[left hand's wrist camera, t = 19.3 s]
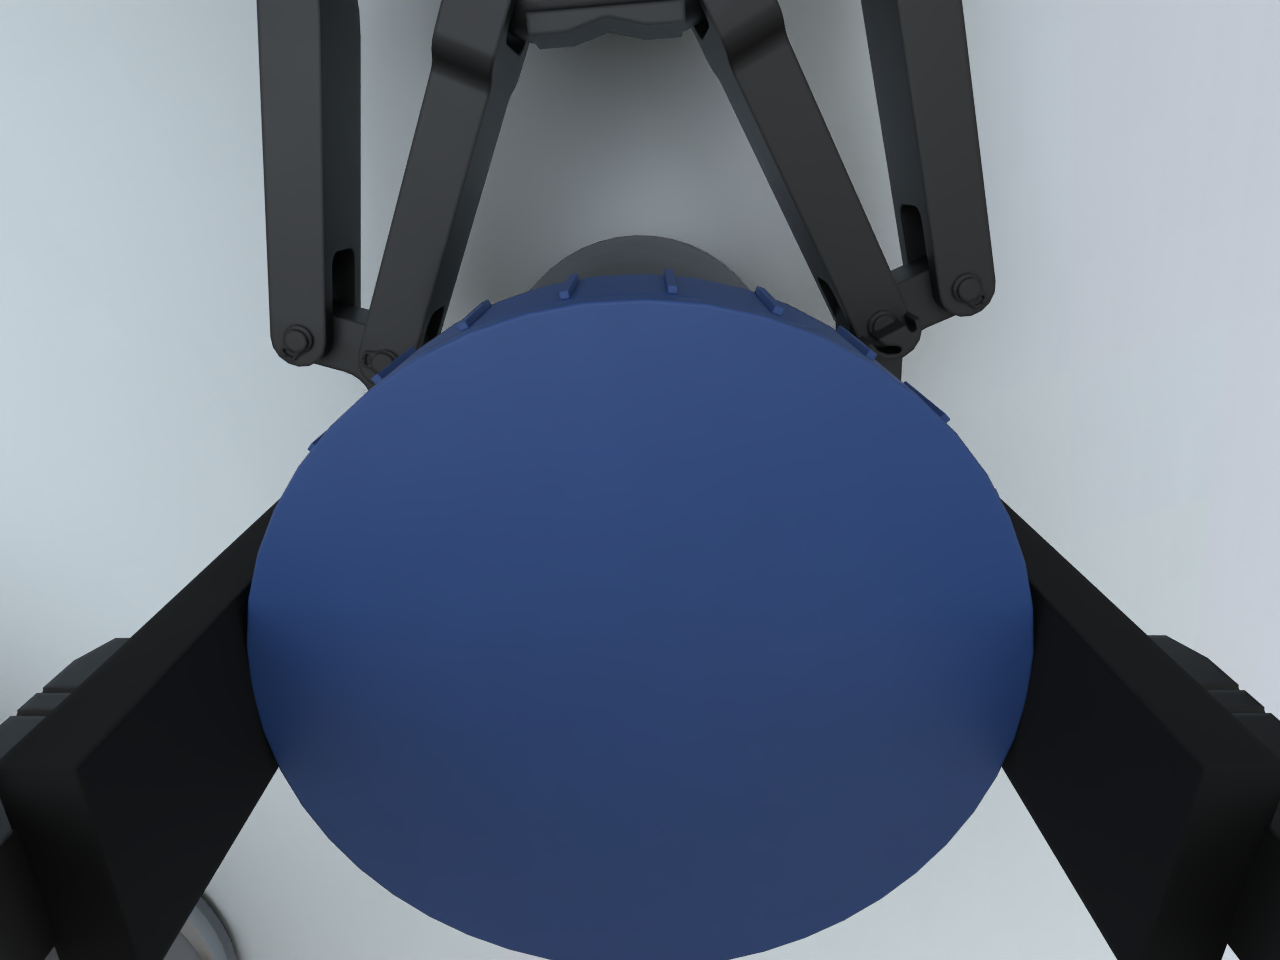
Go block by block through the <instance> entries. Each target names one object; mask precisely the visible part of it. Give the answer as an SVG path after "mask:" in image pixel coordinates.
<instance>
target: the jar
mask: <svg viewBox="0 0 1280 960" xmlns="http://www.w3.org/2000/svg"><path fill="white" fill-rule="evenodd" d="M664 269H672V270H673V272H674V276H680V277H692V278H698V279H703V280H708V281H712V282H717V283H721V284H726V285H731V286H735V287H740V288H744V289H747V290H749V289H748V288H747V287H746V286H745V285H744V283H743V282H742V281H741V280H740V279H739V278H738V277H737V275H736V274H735V273H733V272H732V271H731V270H730V269H729V268H728V267H726V266H725V265H724V264H723V263H722V262H720V261H719V260H717V259H716V258H714V257H713V256H711V255H709V254H708V253H706V252H704V251H702V250H700V249H698V248H696V247H694V246H691V245H689V244H686V243H683V242H679V241H676V240H673V239H668V238H662V237H656V236H626V237H617V238H612V239H608V240H604V241H600V242H597V243H595V244H592V245H589V246H587V247H584V248H582V249H580V250H578V251H576V252H575V253H573V254H571V255H569V256H568V257H566V258H564V259H563V260H562V261H560V262H559V263H558V264H556V265H555V266H554V267H553V268H551V269H550V270H549V271H548V272H547V273H546V274H545V275H544V276H543V277H542V278H541V279H540V280H539V281H538V282H537V283H536V284H535V286H534V287H533V288H532V289H531V290H530V291H532V290H535V289H538V288H541V287H544V286H548V285H553V284H558V283H563V282H566V280H567V279H568V277H569V275H570V274H576V273H578V275H579V279H584V278H589V277H595V276H613V275H631V274H654V275H664Z"/></svg>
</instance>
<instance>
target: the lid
mask: <svg viewBox="0 0 1280 960" xmlns="http://www.w3.org/2000/svg"><path fill="white" fill-rule="evenodd" d="M876 356H877V354H876V353H875V352H874V351H872V350H871V349H870V348H869V347H867V346H866V345H865V344H864V343H862V342H861V341H860V340H859V339H857V338H856V337H855V336H854V335H852V334H851V333H850V332H849V331H847V330H846V329H845V328H843V327H842V326H839V327H838V328H837V329H836V330H835V329H833V328H832V327H830V326H828V325H826V324H824V323H822V322H820V321H819V320H817V319H815V318H813V317H811V316H809V315H807V314H805V313H804V312H802V311H800V310H798V309H796V308H794V307H792V306H790V305H788V304H785V303H782V302H780V301H777V300H775V299H774V298H773V297H772V296H771V295H770V294H769V293H768V292H767V291H766V290H765V289H764V288H761V287H757V288H756V290H755V292H752V291H750V290H747V289H744V288H740V287H735V286H731V285H726V284H721V283H717V282H712V281H708V280H703V279H698V278H692V277H680V276H674V272H673V270H672V269H664V275H654V274H631V275H613V276H595V277H589V278H584V279H579V275H578V273H576V274H570V275H569V277H568V279H567V280H566V282H563V283H558V284H553V285H548V286H544V287H541V288H538V289H535V290H532V291H529V292H526V293H523V294H520V295H517V296H514V297H511V298H508V299H505V300H502V301H499V302H497V303H495V304H493V305H491V304H490V302H489V300H486V301H484V302H482V303H481V304H480V305H479V306H477V307H476V308H475V309H474V310H473V311H472V312H471V313H469V314H468V315H467V316H466V317H465V318H464V319H463V320H461V321H459V322H457V323H455V324H454V325H453V326H451V327H450V328H448V329H447V330H445V331H444V332H442V333H441V334H440V335H438V336H437V337H435V338H434V339H432V340H431V341H429V342H428V343H426V344H425V345H424V346H422V347H421V348H419V349H418V350H417V351H416V350H415V349H414V348H413V347H412V346H411V347H410V348H409V349H408V350H406V351H405V352H404V353H403V354H401V355H400V356H399V357H398V358H396V359H395V360H394V361H393V362H391V363H390V364H389V365H388V366H386V367H385V368H384V369H383V370H381V371H380V372H379V373H378V374H376V375H375V376H374V377H373V378H372V379H371V380H372V381H373V382H374V383H375V384H376V385H375V386H373V387H372V388H371V389H370V390H369V391H368V392H367V393H366V394H364V395H363V396H362V397H361V398H360V399H359V400H358V401H357V402H356V403H355V404H354V405H353V406H352V407H350V408H349V409H348V410H347V411H346V412H345V413H344V414H343V415H342V416H341V417H340V418H339V419H338V420H337V421H335V422H334V423H333V424H332V425H331V426H330V427H329V429H328V430H327V431H325V432H324V433H323V434H322V435H321V436H320V437H318V438H317V439H316V440H315V441H314V442H313V443H311V445H310V446H309V448H308V450H309V451H310V453H309V454H308V455H307V456H306V458H305V459H304V460H303V461H302V463H301V464H300V465H299V467H298V468H297V470H296V472H295V474H294V475H293V477H292V479H291V481H290V482H289V484H288V486H287V488H286V489H285V491H284V493H283V495H282V496H281V498H280V500H279V502H278V504H277V505H276V507H275V509H274V511H273V514H272V517H271V519H270V522H269V525H268V527H267V530H266V533H265V535H264V538H263V541H262V543H261V546H260V549H259V551H258V554H257V559H256V564H255V569H254V574H253V579H252V584H251V589H250V594H249V599H248V623H247V653H248V661H249V670H250V677H251V682H252V688H253V692H254V697H255V701H256V706H257V710H258V714H259V717H260V721H261V725H262V728H263V731H264V734H265V736H266V738H267V740H268V743H269V745H270V747H271V750H272V752H273V754H274V757H275V759H276V761H277V763H278V766H279V768H280V770H281V772H282V773H283V775H284V777H285V778H286V780H287V782H288V783H289V785H290V786H291V788H292V790H293V791H294V793H295V795H296V796H297V798H298V800H299V801H300V803H301V805H302V806H303V807H304V809H305V810H306V811H307V812H308V813H309V815H310V816H311V817H312V818H313V820H314V821H315V822H316V823H317V825H318V826H319V827H320V828H321V830H322V831H323V832H324V833H325V835H326V836H327V837H328V838H329V839H330V840H331V841H332V842H333V843H334V844H335V845H336V846H337V847H338V848H339V849H340V850H341V851H342V852H343V853H344V854H345V855H346V856H347V857H348V858H349V859H350V860H351V861H352V862H353V863H354V864H355V865H356V866H357V867H358V868H359V869H361V870H362V871H363V872H365V873H366V874H367V875H369V876H370V877H371V878H372V879H374V880H375V881H376V882H378V883H379V884H380V885H381V886H383V887H384V888H385V889H387V890H388V891H389V892H391V893H392V894H393V895H395V896H397V897H398V898H400V899H401V900H403V901H405V902H406V903H408V904H410V905H411V906H413V907H415V908H416V909H418V910H420V911H421V912H423V913H424V914H426V915H428V916H429V917H431V918H434V919H436V920H438V921H440V922H442V923H444V924H446V925H448V926H451V927H453V928H455V929H457V930H459V931H461V932H463V933H465V934H467V935H470V936H473V937H476V938H478V939H481V940H484V941H487V942H490V943H492V944H495V945H498V946H501V947H504V948H507V949H510V950H514V951H518V952H522V953H526V954H530V955H534V956H538V957H542V958H546V959H550V960H730V959H734V958H738V957H743V956H747V955H751V954H756V953H760V952H764V951H767V950H770V949H773V948H776V947H779V946H782V945H785V944H788V943H791V942H794V941H797V940H800V939H803V938H806V937H808V936H810V935H812V934H815V933H817V932H819V931H821V930H824V929H826V928H828V927H830V926H832V925H835V924H837V923H839V922H841V921H844V920H845V919H847V918H849V917H851V916H852V915H854V914H856V913H857V912H859V911H861V910H863V909H864V908H866V907H868V906H869V905H871V904H873V903H875V902H876V901H878V900H880V899H881V898H883V897H884V896H886V895H887V894H888V893H890V892H891V891H892V890H894V889H895V888H896V887H898V886H899V885H900V884H902V883H903V882H904V881H906V880H907V879H909V878H910V877H911V876H913V875H914V874H915V873H916V872H918V871H919V870H920V869H921V868H922V867H923V866H924V865H925V864H926V863H927V862H928V861H929V860H930V859H931V858H933V857H934V856H935V855H936V854H937V853H938V852H939V851H940V850H941V849H942V848H943V847H944V846H945V845H946V844H947V843H948V842H949V841H950V840H951V839H952V837H953V836H954V835H955V834H956V833H957V831H958V830H959V829H960V828H961V827H962V825H963V824H964V823H965V822H966V821H967V820H968V818H969V817H970V816H971V815H972V814H973V812H974V811H975V809H976V808H977V806H978V805H979V803H980V802H981V800H982V799H983V797H984V795H985V794H986V792H987V791H988V789H989V788H990V786H991V785H992V783H993V781H994V780H995V778H996V777H997V775H998V773H999V771H1000V768H1001V766H1002V764H1003V762H1004V760H1005V758H1006V756H1007V753H1008V751H1009V749H1010V747H1011V745H1012V743H1013V741H1014V738H1015V736H1016V732H1017V729H1018V726H1019V722H1020V719H1021V716H1022V712H1023V709H1024V704H1025V700H1026V696H1027V690H1028V685H1029V680H1030V674H1031V667H1032V661H1033V654H1034V647H1033V604H1032V599H1031V593H1030V587H1029V581H1028V575H1027V569H1026V563H1025V560H1024V557H1023V554H1022V551H1021V548H1020V545H1019V542H1018V539H1017V536H1016V533H1015V531H1014V528H1013V525H1012V522H1011V519H1010V516H1009V515H1008V513H1007V511H1006V509H1005V507H1004V505H1003V503H1002V501H1001V499H1000V498H999V495H998V493H997V490H996V489H995V488H994V486H993V484H992V482H991V481H990V479H989V477H988V475H987V473H986V472H985V471H984V469H983V468H982V467H981V465H980V464H979V463H978V461H977V460H976V459H975V457H974V456H973V455H972V453H971V452H970V451H969V449H968V448H967V447H966V445H965V444H964V443H963V441H962V440H961V439H960V437H959V436H958V435H957V433H956V432H955V431H954V430H953V429H952V428H951V427H950V426H949V425H948V424H947V422H948V421H949V420H950V418H949V417H948V416H947V415H946V414H945V413H944V412H943V411H942V410H940V409H939V408H938V407H937V406H935V405H934V404H933V403H932V402H931V401H929V400H928V399H927V398H926V397H924V396H923V395H922V394H921V393H920V392H918V391H917V390H916V389H915V388H913V387H912V386H911V385H910V384H909V383H907V382H906V381H905V382H904V383H902V382H901V381H900V380H899V379H898V378H896V377H895V376H894V375H893V374H892V373H890V372H889V371H888V370H887V369H886V368H884V367H883V366H882V365H881V364H880V363H879V362H877V361H876V360H875V357H876Z"/></svg>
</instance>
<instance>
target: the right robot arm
mask: <svg viewBox="0 0 1280 960" xmlns="http://www.w3.org/2000/svg"><path fill="white" fill-rule="evenodd" d="M861 4H862V10H863V16H864V22H865V29H866V35H867V41H868V48H869V54H870V60H871V66H872V73H873V79H874V85H875V91H876V98H877V104H878V110H879V117H880V123H881V129H882V135H883V142H884V148H885V154H886V160H887V167H888V173H889V179H890V186H891V192H892V198H893V204H894V211H895V217H896V223H897V229H898V236H899V242H900V248H901V254H902V261H903V266H901V267H898V268H896V269H894V270H892V271H890V268H889V266H888V264H887V262H886V259H885V257H884V255H883V253H882V250H881V248H880V246H879V244H878V241H877V239H876V237H875V234H874V232H873V230H872V228H871V225H870V223H869V221H868V219H867V216H866V214H865V212H864V210H863V207H862V205H861V203H860V201H859V198H858V196H857V194H856V192H855V189H854V187H853V185H852V182H851V180H850V178H849V176H848V173H847V171H846V169H845V167H844V164H843V162H842V160H841V158H840V155H839V153H838V151H837V149H836V146H835V144H834V142H833V139H832V137H831V135H830V133H829V130H828V128H827V126H826V124H825V121H824V119H823V117H822V115H821V112H820V110H819V108H818V106H817V103H816V101H815V99H814V97H813V94H812V92H811V90H810V87H809V85H808V83H807V81H806V78H805V76H804V74H803V72H802V69H801V67H800V65H799V63H798V60H797V58H796V56H795V54H794V51H793V49H792V47H791V45H790V42H789V40H788V37H787V34H786V31H785V25H784V19H783V15H782V12H781V9H780V6H779V4H778V1H777V0H442V1H441V5H440V9H439V13H438V17H437V21H436V25H435V29H434V34H433V39H432V67H431V72H430V76H429V80H428V84H427V88H426V92H425V95H424V99H423V103H422V107H421V111H420V115H419V119H418V123H417V127H416V130H415V134H414V138H413V142H412V146H411V150H410V154H409V158H408V162H407V165H406V169H405V173H404V177H403V181H402V185H401V189H400V193H399V196H398V200H397V204H396V208H395V212H394V216H393V220H392V224H391V228H390V231H389V235H388V239H387V243H386V247H385V251H384V255H383V259H382V263H381V266H380V270H379V274H378V278H377V282H376V286H375V290H374V294H373V298H372V301H371V305H370V309H369V310H367V309H364V308H361V35H360V16H359V7H358V0H257V20H258V44H259V68H260V93H261V117H262V141H263V166H264V190H265V214H266V238H267V263H268V287H269V311H270V336H271V341H272V345H273V348H274V349H275V351H276V352H277V354H278V355H279V357H281V358H282V359H283V360H285V361H286V362H287V363H289V364H292V365H295V366H299V367H300V366H310V365H312V364H318V365H322V366H325V367H329V368H333V369H337V370H340V371H344V372H347V373H349V374H352V375H353V376H355V377H356V378H358V379H359V380H360V381H361V382H362V383H363V384H364V385H365V386H366V387H367V389H368V390H370V389H371V388H372V387H373V386H375V385H376V384H375V383H374V382H373V381H372V380H371V379H372V378H373V377H374V376H375V375H376V374H378V373H379V372H380V371H381V370H383V369H384V368H385V367H386V366H388V365H389V364H390V363H391V362H393V361H394V360H395V359H396V358H398V357H399V356H400V355H401V354H403V353H404V352H405V351H406V350H408V349H409V348H410V347H411V346H412V347H413V348H414V349H415V350H416V351H417V350H418V349H419V348H421V347H422V346H424V345H425V344H426V343H428V342H429V341H431V340H432V339H434V338H435V337H437V336H438V335H440V334H441V330H442V327H443V323H444V320H445V317H446V313H447V310H448V306H449V303H450V299H451V296H452V293H453V289H454V286H455V282H456V279H457V275H458V272H459V269H460V265H461V262H462V258H463V255H464V251H465V248H466V245H467V241H468V238H469V234H470V231H471V228H472V224H473V221H474V217H475V214H476V210H477V207H478V204H479V200H480V197H481V193H482V190H483V186H484V183H485V180H486V176H487V173H488V169H489V166H490V162H491V159H492V156H493V152H494V149H495V145H496V142H497V139H498V135H499V132H500V128H501V125H502V121H503V118H504V115H505V111H506V108H507V104H508V101H509V98H510V96H511V94H512V92H513V90H514V89H515V87H516V84H517V82H518V79H519V76H520V73H521V69H522V66H523V62H524V59H525V56H526V52H527V49H528V45H529V42H530V43H534V44H536V45H537V46H538V47H539V48H540V49H546V48H557V47H569V46H576V45H578V44H581V43H583V42H586V41H588V40H591V39H593V38H596V37H598V36H601V35H603V34H606V33H616V34H621V35H626V36H630V37H635V38H640V39H644V40H651V39H663V38H674V37H681V35H682V32H683V31H685V30H687V29H690V28H692V30H693V32H694V34H695V36H696V38H697V40H698V42H699V44H700V46H701V48H702V51H703V53H704V55H705V57H706V59H707V61H708V63H709V65H710V66H711V68H712V70H713V71H714V73H715V74H716V76H717V77H718V79H719V80H720V82H721V84H722V86H723V88H724V90H725V92H726V94H727V97H728V99H729V101H730V103H731V105H732V107H733V109H734V111H735V113H736V115H737V118H738V120H739V122H740V124H741V126H742V128H743V130H744V132H745V134H746V136H747V138H748V141H749V143H750V145H751V147H752V149H753V151H754V153H755V155H756V157H757V159H758V162H759V164H760V166H761V168H762V170H763V172H764V174H765V176H766V178H767V180H768V182H769V185H770V187H771V189H772V191H773V193H774V195H775V197H776V199H777V201H778V203H779V206H780V208H781V210H782V212H783V214H784V216H785V218H786V220H787V222H788V224H789V226H790V229H791V231H792V233H793V235H794V237H795V239H796V241H797V243H798V245H799V247H800V250H801V252H802V254H803V256H804V258H805V260H806V262H807V264H808V266H809V268H810V270H811V273H812V275H813V277H814V279H815V281H816V283H817V285H818V287H819V289H820V291H821V294H822V296H823V298H824V300H825V302H826V304H827V306H828V308H829V310H830V312H831V314H832V317H833V319H834V320H835V322H836V329H837V328H838V327H839V326H842V327H843V328H845V329H846V330H847V331H849V332H850V333H851V334H852V335H854V336H855V337H856V338H857V339H859V340H860V341H861V342H862V343H864V344H865V345H866V346H867V347H869V348H870V349H871V350H872V351H874V352H875V353H876V354H877V356H876V357H875V360H876V361H877V362H879V363H880V364H881V365H882V366H883V367H884V368H886V369H887V370H888V371H889V372H890V373H892V374H893V375H894V376H895V377H896V378H898V379H899V380H900V381H901V370H902V358H903V357H904V356H906V355H907V354H908V353H910V352H911V351H912V350H913V349H914V348H915V346H916V345H917V343H918V342H919V340H920V336H921V331H922V330H923V329H925V328H927V327H929V326H931V325H934V324H936V323H938V322H941V321H943V320H945V319H948V318H950V317H952V316H955V315H957V316H960V317H962V316H972V315H974V314H976V313H978V312H980V311H982V310H983V309H984V308H985V307H986V306H987V305H988V304H989V303H990V301H991V299H992V297H993V294H994V292H995V273H994V265H993V256H992V248H991V240H990V231H989V223H988V215H987V206H986V198H985V190H984V181H983V173H982V165H981V156H980V148H979V140H978V131H977V123H976V115H975V106H974V98H973V90H972V81H971V73H970V65H969V56H968V48H967V40H966V31H965V23H964V15H963V6H962V0H861Z"/></svg>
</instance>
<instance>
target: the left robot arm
mask: <svg viewBox="0 0 1280 960" xmlns="http://www.w3.org/2000/svg"><path fill="white" fill-rule="evenodd" d="M279 500H280V499H279ZM279 500H278V501H277V502H276V503H275V504H274V505H273V506H272V507H270V508H269V509H268V510H267V511H266V512H265V513H264V514H263V515H262V516H261V517H260V518H259V519H258V520H257V521H255V522H254V523H253V524H252V525H251V526H250V527H249V528H248V529H247V530H246V531H245V532H244V533H243V534H241V535H240V536H239V537H238V538H237V539H236V540H235V541H234V542H233V543H232V544H231V545H230V546H229V547H228V548H226V549H225V550H224V551H223V552H222V553H221V554H220V555H219V556H218V557H217V558H216V559H215V560H214V561H212V562H211V563H210V564H209V565H208V566H207V567H206V568H205V569H204V570H203V571H202V572H201V573H200V574H199V575H197V576H196V577H195V578H194V579H193V580H192V581H191V582H190V583H189V584H188V585H187V586H186V587H185V588H183V589H182V590H181V591H180V592H179V593H178V594H177V595H176V596H175V597H174V598H173V599H172V600H171V601H170V602H168V603H167V604H166V605H165V606H164V607H163V608H162V609H161V610H160V611H159V612H158V613H157V614H156V615H154V616H153V617H152V618H151V619H150V620H149V621H148V622H147V623H146V624H145V625H144V626H143V627H142V628H141V629H139V630H138V631H137V632H136V633H135V634H134V635H133V636H132V637H131V638H115V639H113V640H111V641H109V642H107V643H106V644H104V645H102V646H100V647H98V648H96V649H95V650H93V651H91V652H89V653H87V654H85V655H84V656H82V657H80V658H78V659H76V660H74V661H73V662H72V663H71V664H69V665H68V666H67V667H66V668H65V669H64V670H63V671H62V672H60V673H59V674H58V675H57V676H56V677H55V678H54V679H52V680H51V681H50V682H49V683H48V684H47V685H46V686H44V687H43V692H42V693H36V694H35V695H34V696H33V697H32V698H31V699H30V700H29V701H27V702H26V703H25V704H24V705H23V706H22V707H21V708H19V709H18V710H17V712H18V713H17V715H16V716H10V717H9V718H8V719H7V720H6V721H5V722H3V723H2V724H1V725H0V960H237V959H236V954H235V951H234V948H233V945H232V942H231V940H230V938H229V936H228V934H227V932H226V930H225V928H224V926H223V925H222V923H221V921H220V920H219V918H218V917H217V915H216V914H215V913H214V911H213V910H212V909H211V907H210V906H209V905H208V904H207V903H206V901H205V900H204V899H203V898H202V897H201V896H202V894H203V892H204V891H205V889H206V887H207V886H208V884H209V882H210V881H211V879H212V877H213V876H214V874H215V872H216V871H217V869H218V867H219V866H220V864H221V862H222V861H223V859H224V857H225V856H226V854H227V852H228V851H229V849H230V847H231V846H232V844H233V842H234V841H235V839H236V837H237V836H238V834H239V832H240V831H241V829H242V827H243V826H244V824H245V822H246V821H247V819H248V817H249V816H250V814H251V812H252V811H253V809H254V807H255V806H256V804H257V802H258V801H259V799H260V797H261V796H262V794H263V792H264V790H265V789H266V787H267V785H268V784H269V782H270V780H271V779H272V777H273V775H274V774H275V772H276V770H277V769H278V767H279V766H278V763H277V761H276V759H275V757H274V754H273V752H272V750H271V747H270V745H269V743H268V740H267V738H266V736H265V734H264V731H263V728H262V725H261V721H260V717H259V714H258V710H257V706H256V701H255V697H254V692H253V688H252V682H251V677H250V670H249V661H248V653H247V623H248V599H249V594H250V589H251V584H252V579H253V574H254V569H255V564H256V559H257V554H258V551H259V549H260V546H261V543H262V541H263V538H264V535H265V533H266V530H267V527H268V525H269V522H270V519H271V517H272V514H273V511H274V509H275V507H276V505H277V504H278V502H279ZM1001 501H1002V503H1003V505H1004V507H1005V509H1006V511H1007V513H1008V515H1009V516H1010V519H1011V522H1012V525H1013V528H1014V531H1015V533H1016V536H1017V539H1018V542H1019V545H1020V548H1021V551H1022V554H1023V557H1024V560H1025V563H1026V569H1027V575H1028V581H1029V587H1030V593H1031V599H1032V604H1033V647H1034V654H1033V661H1032V667H1031V674H1030V680H1029V685H1028V690H1027V696H1026V700H1025V704H1024V709H1023V712H1022V716H1021V719H1020V722H1019V726H1018V729H1017V732H1016V736H1015V738H1014V741H1013V743H1012V745H1011V747H1010V749H1009V751H1008V753H1007V756H1006V758H1005V760H1004V762H1003V764H1002V768H1003V770H1004V771H1005V773H1006V775H1007V776H1008V778H1009V780H1010V781H1011V783H1012V785H1013V786H1014V788H1015V790H1016V791H1017V793H1018V795H1019V796H1020V798H1021V800H1022V801H1023V803H1024V805H1025V806H1026V808H1027V810H1028V811H1029V813H1030V815H1031V816H1032V818H1033V820H1034V821H1035V823H1036V825H1037V826H1038V828H1039V830H1040V831H1041V833H1042V835H1043V836H1044V838H1045V840H1046V841H1047V843H1048V845H1049V846H1050V848H1051V850H1052V851H1053V853H1054V855H1055V856H1056V858H1057V860H1058V861H1059V863H1060V865H1061V866H1062V868H1063V870H1064V871H1065V873H1066V875H1067V877H1068V878H1069V880H1070V882H1071V883H1072V885H1073V887H1074V888H1075V890H1076V892H1077V893H1078V895H1079V897H1080V898H1081V900H1082V902H1083V903H1084V905H1085V907H1086V908H1087V910H1088V912H1089V913H1090V915H1091V917H1092V918H1093V920H1094V922H1095V923H1096V925H1097V927H1098V928H1099V930H1100V932H1101V933H1102V935H1103V937H1104V938H1105V940H1106V942H1107V943H1108V945H1109V947H1110V948H1111V950H1112V952H1113V953H1114V955H1115V957H1116V958H1117V960H1221V959H1222V957H1223V954H1224V951H1225V948H1226V946H1227V944H1228V945H1229V946H1230V948H1231V949H1232V950H1233V952H1234V953H1235V954H1236V956H1237V957H1238V958H1239V960H1280V721H1279V720H1278V719H1277V718H1276V717H1275V716H1274V715H1273V714H1271V713H1265V711H1264V707H1263V706H1262V705H1261V704H1260V703H1259V702H1258V701H1256V700H1255V699H1254V698H1253V697H1252V696H1251V695H1250V694H1248V693H1247V692H1246V691H1245V690H1239V687H1238V686H1239V685H1238V684H1237V683H1236V682H1235V681H1234V680H1232V679H1231V678H1230V677H1229V676H1228V675H1227V674H1226V673H1224V672H1223V671H1222V670H1221V669H1220V668H1219V667H1217V666H1216V665H1215V664H1214V663H1213V662H1212V661H1211V660H1209V659H1208V658H1207V657H1205V656H1203V655H1201V654H1199V653H1197V652H1196V651H1194V650H1192V649H1190V648H1188V647H1186V646H1184V645H1183V644H1181V643H1179V642H1177V641H1175V640H1173V639H1172V638H1170V637H1168V636H1166V635H1146V634H1145V633H1144V632H1143V631H1142V630H1141V629H1140V628H1139V627H1138V626H1137V625H1136V624H1135V623H1134V622H1133V621H1131V620H1130V619H1129V618H1128V617H1127V616H1126V615H1125V614H1124V613H1123V612H1122V611H1121V610H1120V609H1119V608H1117V607H1116V606H1115V605H1114V604H1113V603H1112V602H1111V601H1110V600H1109V599H1108V598H1107V597H1106V596H1105V595H1104V594H1102V593H1101V592H1100V591H1099V590H1098V589H1097V588H1096V587H1095V586H1094V585H1093V584H1092V583H1091V582H1090V581H1088V580H1087V579H1086V578H1085V577H1084V576H1083V575H1082V574H1081V573H1080V572H1079V571H1078V570H1077V569H1076V568H1074V567H1073V566H1072V565H1071V564H1070V563H1069V562H1068V561H1067V560H1066V559H1065V558H1064V557H1063V556H1062V555H1061V554H1059V553H1058V552H1057V551H1056V550H1055V549H1054V548H1053V547H1052V546H1051V545H1050V544H1049V543H1048V542H1047V541H1045V540H1044V539H1043V538H1042V537H1041V536H1040V535H1039V534H1038V533H1037V532H1036V531H1035V530H1034V529H1033V528H1032V527H1030V526H1029V525H1028V524H1027V523H1026V522H1025V521H1024V520H1023V519H1022V518H1021V517H1020V516H1019V515H1018V514H1016V513H1015V512H1014V511H1013V510H1012V509H1011V508H1010V507H1009V506H1008V505H1007V504H1006V503H1005V502H1004V501H1003V500H1001Z"/></svg>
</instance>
